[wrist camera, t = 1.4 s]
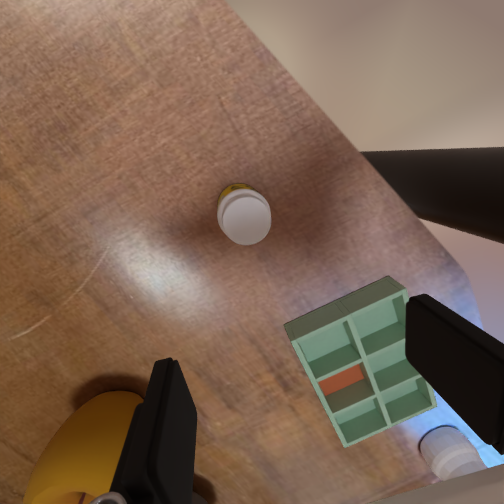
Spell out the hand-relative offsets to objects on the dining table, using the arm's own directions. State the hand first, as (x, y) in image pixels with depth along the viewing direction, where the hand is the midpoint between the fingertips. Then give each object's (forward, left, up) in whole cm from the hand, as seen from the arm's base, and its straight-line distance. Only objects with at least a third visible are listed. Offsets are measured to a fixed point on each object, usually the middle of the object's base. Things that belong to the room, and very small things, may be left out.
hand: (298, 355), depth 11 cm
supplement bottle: (-1, -2, -21) cm, 21 cm away
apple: (+25, +15, -21) cm, 36 cm away
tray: (-7, +26, -21) cm, 34 cm away
